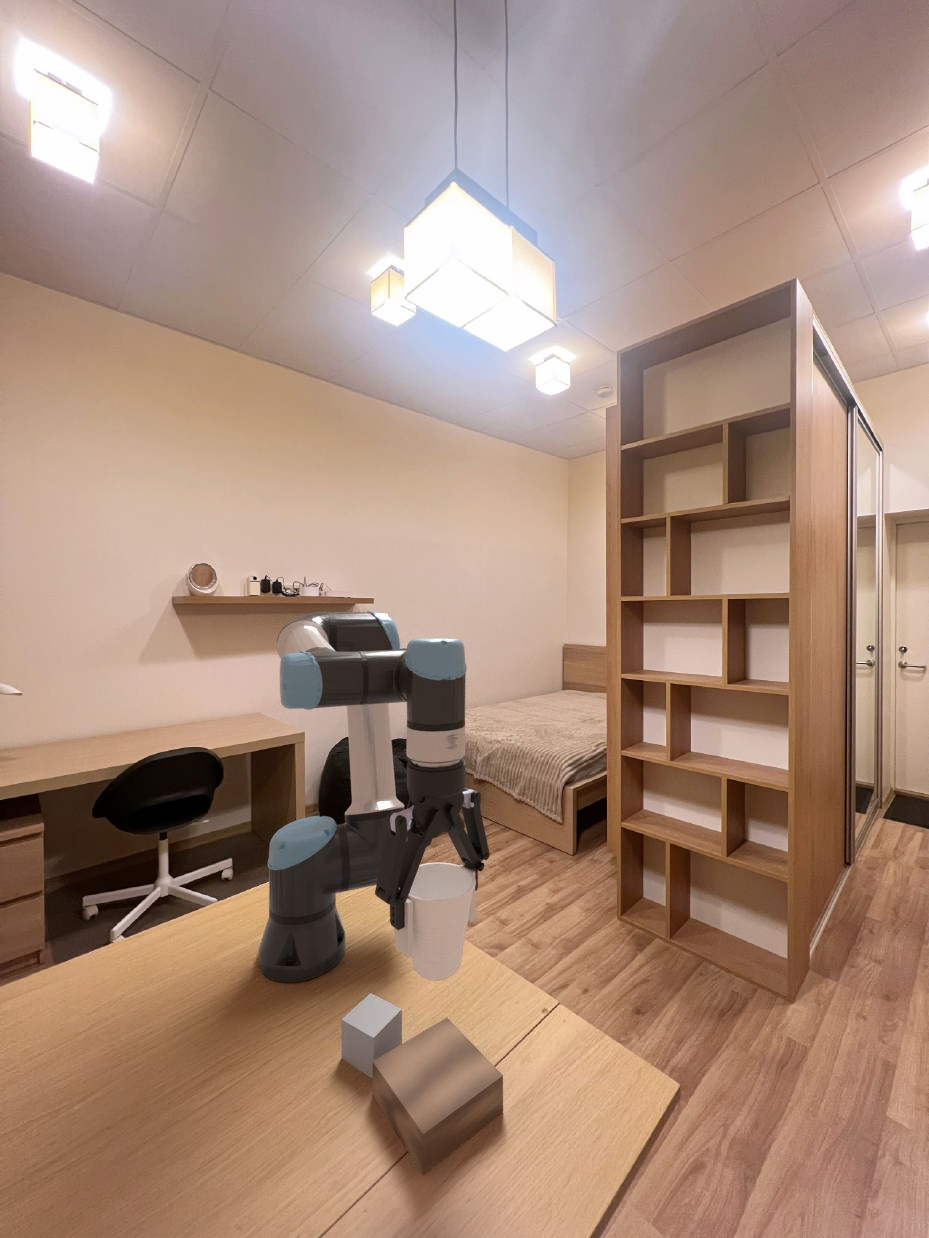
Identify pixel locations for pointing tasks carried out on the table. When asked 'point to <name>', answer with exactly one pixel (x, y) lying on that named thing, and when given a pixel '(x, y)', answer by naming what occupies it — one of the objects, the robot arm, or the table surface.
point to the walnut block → (437, 1092)
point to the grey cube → (370, 1032)
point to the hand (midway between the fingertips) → (436, 933)
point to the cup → (440, 918)
